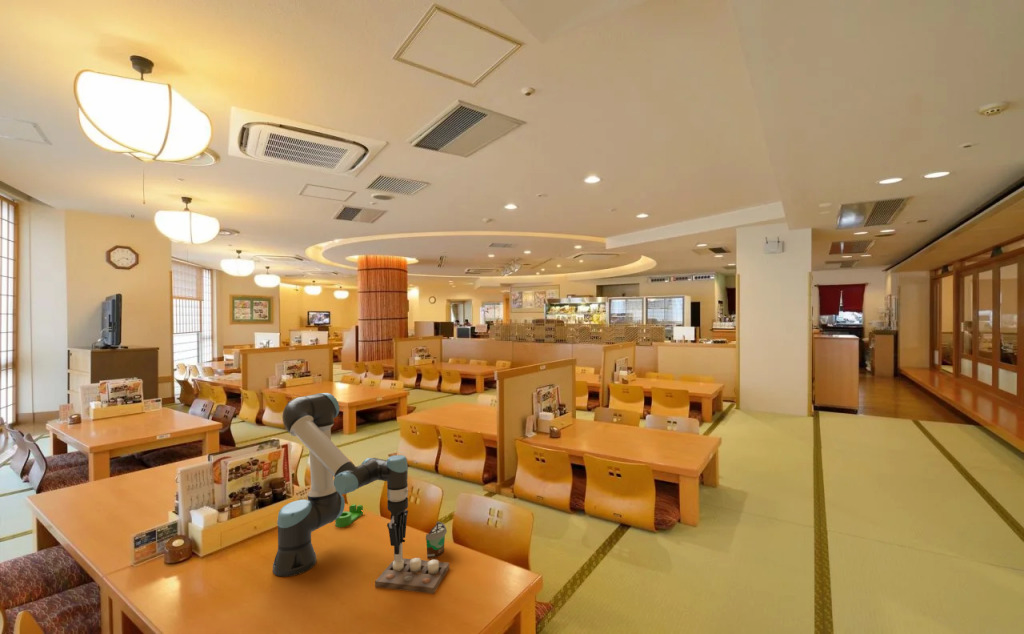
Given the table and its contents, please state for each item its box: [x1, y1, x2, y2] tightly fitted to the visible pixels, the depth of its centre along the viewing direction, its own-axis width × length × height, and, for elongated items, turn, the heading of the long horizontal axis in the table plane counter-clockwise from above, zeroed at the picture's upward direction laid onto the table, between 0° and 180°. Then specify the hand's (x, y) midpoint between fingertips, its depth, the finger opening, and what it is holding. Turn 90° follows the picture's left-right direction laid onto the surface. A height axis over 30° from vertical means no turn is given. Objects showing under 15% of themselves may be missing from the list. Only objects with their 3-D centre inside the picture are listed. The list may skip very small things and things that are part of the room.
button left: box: [392, 560, 404, 571], centre depth 164 cm, size 4×4×3 cm
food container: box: [425, 521, 448, 559], centre depth 178 cm, size 12×6×10 cm, turn 168°
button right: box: [428, 559, 440, 575], centre depth 161 cm, size 4×4×3 cm
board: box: [374, 558, 450, 595], centre depth 161 cm, size 22×16×2 cm
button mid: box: [410, 557, 422, 573], centre depth 163 cm, size 4×4×3 cm
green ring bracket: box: [334, 503, 364, 528], centre depth 209 cm, size 15×7×5 cm, turn 168°
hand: (398, 560), depth 164 cm, fingers closed
